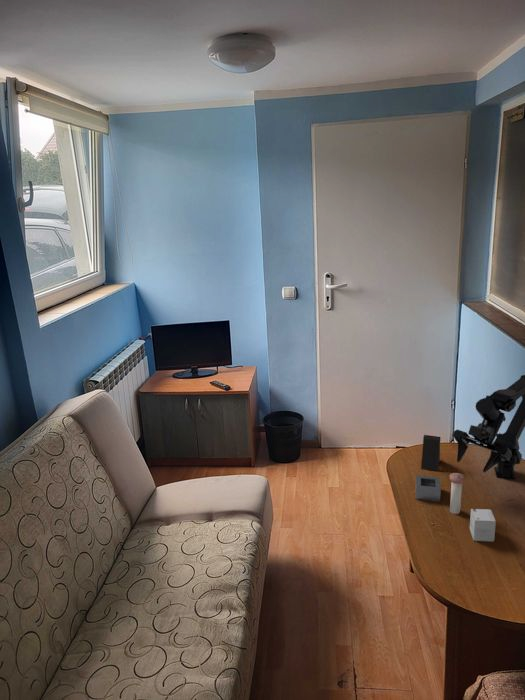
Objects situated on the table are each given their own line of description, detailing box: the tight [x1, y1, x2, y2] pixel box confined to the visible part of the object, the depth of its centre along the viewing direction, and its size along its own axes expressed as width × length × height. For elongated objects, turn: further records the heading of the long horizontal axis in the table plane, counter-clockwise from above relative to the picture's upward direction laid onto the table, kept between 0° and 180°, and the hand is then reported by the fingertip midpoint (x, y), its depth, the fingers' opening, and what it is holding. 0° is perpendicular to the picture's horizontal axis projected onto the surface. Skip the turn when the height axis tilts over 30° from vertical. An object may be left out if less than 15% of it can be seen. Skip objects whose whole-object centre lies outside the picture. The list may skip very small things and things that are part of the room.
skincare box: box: [469, 508, 497, 542], centre depth 158 cm, size 6×6×7 cm
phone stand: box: [420, 434, 441, 472], centre depth 198 cm, size 9×6×12 cm, turn 156°
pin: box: [449, 472, 466, 515], centre depth 169 cm, size 5×5×13 cm
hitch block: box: [415, 475, 442, 502], centre depth 181 cm, size 8×8×4 cm
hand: (470, 466), depth 172 cm, fingers open, 9 cm apart
